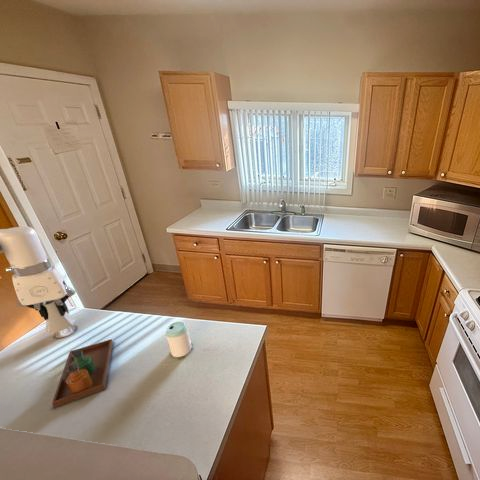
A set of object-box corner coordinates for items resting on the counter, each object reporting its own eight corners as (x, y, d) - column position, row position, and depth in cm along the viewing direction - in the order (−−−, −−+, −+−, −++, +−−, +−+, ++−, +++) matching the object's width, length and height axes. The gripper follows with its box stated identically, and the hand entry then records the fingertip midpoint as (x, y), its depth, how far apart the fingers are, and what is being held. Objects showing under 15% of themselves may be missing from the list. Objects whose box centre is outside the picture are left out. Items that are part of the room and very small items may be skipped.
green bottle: (74, 381, 84) (64, 361, 80) (78, 369, 88) (68, 349, 84) (94, 374, 87) (85, 354, 83) (97, 363, 91) (88, 344, 87)
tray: (105, 389, 83) (103, 384, 82) (54, 407, 77) (51, 403, 76) (113, 342, 100) (111, 339, 99) (72, 355, 94) (70, 351, 93)
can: (174, 361, 93) (167, 337, 89) (169, 349, 98) (162, 325, 93) (194, 351, 98) (189, 327, 93) (188, 340, 102) (183, 317, 98)
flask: (74, 315, 90) (64, 292, 86) (76, 326, 86) (65, 302, 82) (45, 325, 86) (33, 301, 82) (46, 337, 81) (32, 312, 77)
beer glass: (66, 339, 101) (51, 309, 95) (48, 338, 101) (32, 308, 95) (81, 326, 107) (68, 297, 101) (65, 325, 107) (51, 296, 101)
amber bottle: (69, 397, 79) (58, 377, 75) (73, 384, 83) (63, 364, 79) (91, 390, 82) (81, 369, 78) (94, 377, 86) (84, 357, 82)
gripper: (-15, 280, 69) (15, 331, 77) (66, 266, 77) (86, 314, 85) (-2, 268, 75) (25, 316, 83) (72, 256, 83) (90, 301, 91)
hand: (55, 314), depth 84 cm, fingers closed on flask, 3 cm apart
